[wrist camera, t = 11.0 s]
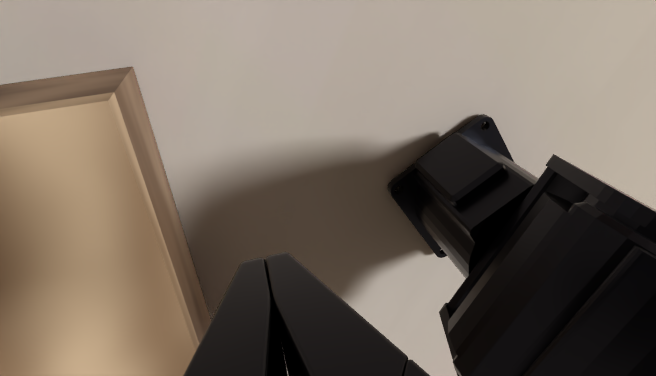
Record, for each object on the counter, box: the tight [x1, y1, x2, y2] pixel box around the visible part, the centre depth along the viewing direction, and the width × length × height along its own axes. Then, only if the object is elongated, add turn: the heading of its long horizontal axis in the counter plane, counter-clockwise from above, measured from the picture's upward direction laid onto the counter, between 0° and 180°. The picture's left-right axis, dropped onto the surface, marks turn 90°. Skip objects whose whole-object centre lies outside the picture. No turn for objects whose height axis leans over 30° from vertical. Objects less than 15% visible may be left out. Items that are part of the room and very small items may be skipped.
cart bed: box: [0, 67, 211, 376], centre depth 19 cm, size 13×18×5 cm
